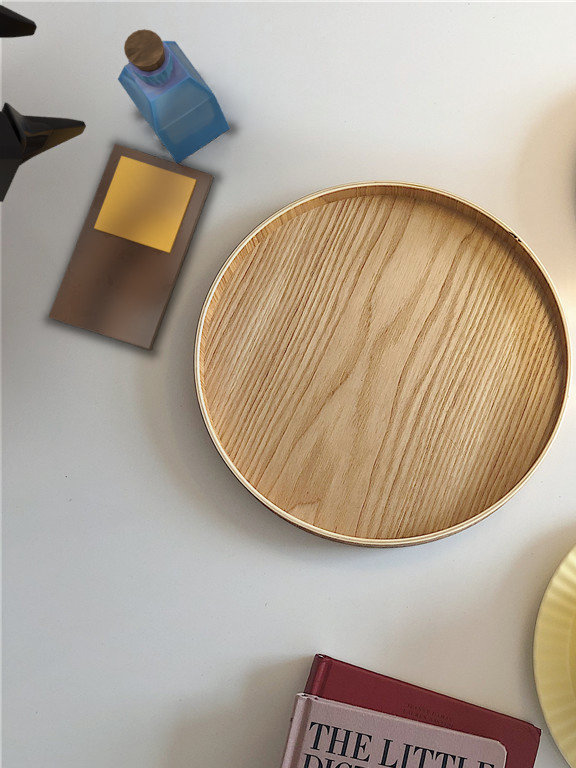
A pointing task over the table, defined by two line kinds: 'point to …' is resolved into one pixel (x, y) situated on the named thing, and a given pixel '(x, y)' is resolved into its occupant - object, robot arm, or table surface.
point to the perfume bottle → (170, 94)
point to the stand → (131, 247)
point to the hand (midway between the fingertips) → (59, 77)
